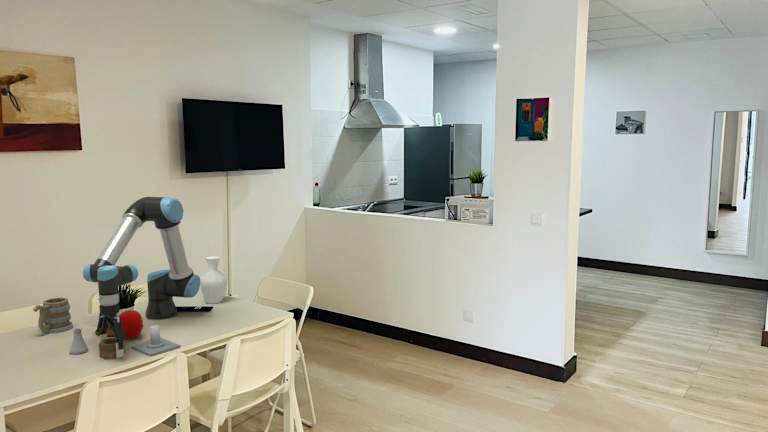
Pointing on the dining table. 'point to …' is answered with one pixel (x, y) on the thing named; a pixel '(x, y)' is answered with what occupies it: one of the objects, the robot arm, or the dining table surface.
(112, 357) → the collar
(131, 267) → the robot arm
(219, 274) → the vase
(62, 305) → the tankard
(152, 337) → the post fixture
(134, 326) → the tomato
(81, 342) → the flask
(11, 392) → the dining table surface
